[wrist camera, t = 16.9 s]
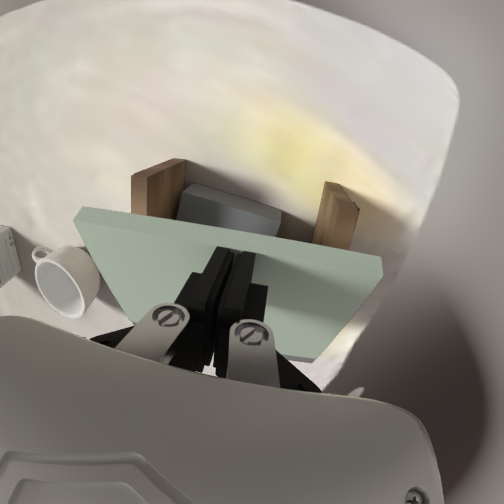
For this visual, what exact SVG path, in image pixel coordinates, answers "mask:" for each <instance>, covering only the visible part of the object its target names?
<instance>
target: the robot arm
mask: <svg viewBox="0 0 504 504" xmlns="http://www.w3.org/2000/svg"><path fill="white" fill-rule="evenodd" d="M229 250H230V249H229V248H224V247H218V246H217V247H216V249H215V250H214V252H213V254H212V256H211V258H210V260H209V261H208V263H207V265H206V267H205V269H204V271H203V273H197V272H192V273H191V275H190V276H189V278H188V280H187V281H186V283H185V285H184V286H183V288H182V290H181V292H180V293H179V295H178V297H177V298H176V300H175V302H174V303H163V304H159V305H156V306H154V307H153V308H152V309H150V310H149V311H148V313H147V314H146V315H145V316H144V317H143V318H142V319H141V320H140V321H139V322H138V323H137V324H136V325H135V326H132V327H128V328H125V329H121V330H118V331H114V332H110V333H107V334H103V335H99V336H96V337H93V338H91V339H90V340H88V339H86V337H80V336H78V335H75V334H73V333H70V332H68V331H65V330H63V329H60V328H57V327H55V326H52V325H49V324H47V323H44V322H42V321H38V320H35V319H32V318H27V317H22V316H1V317H0V504H444V499H443V491H442V484H441V478H440V474H439V469H438V465H437V460H436V457H435V453H434V450H433V446H432V444H431V441H430V438H429V436H428V433H427V431H426V430H425V428H424V426H423V425H422V423H421V422H420V421H419V419H418V418H416V417H415V416H414V415H413V414H411V413H410V412H408V411H406V410H404V409H402V408H399V407H397V406H394V405H391V404H388V403H385V402H380V401H376V400H372V399H366V398H360V397H352V396H342V395H338V394H334V393H330V394H323V393H322V391H321V390H320V389H319V388H318V387H317V386H316V385H315V384H314V383H313V382H312V381H311V380H310V379H308V378H307V377H306V376H305V375H304V374H303V373H302V372H300V371H299V370H298V369H297V368H296V367H295V366H294V365H292V364H291V363H290V362H289V361H288V360H287V359H286V358H285V357H284V356H282V355H281V354H280V353H279V352H278V351H277V350H276V349H275V341H274V334H273V332H272V330H271V328H270V327H269V326H268V325H266V324H265V323H263V322H264V315H265V308H266V301H267V293H268V286H267V285H261V284H255V283H251V282H252V275H253V269H254V263H255V256H256V253H252V252H246V251H243V253H242V254H237V256H236V259H235V262H234V264H233V259H234V253H233V252H229ZM213 353H214V362H213V367H215V368H216V373H215V374H216V375H217V377H216V376H211V375H206V374H202V372H203V369H204V365H206V366H209V365H210V363H211V360H212V356H213ZM195 371H197V372H195ZM198 372H201V373H198Z"/></svg>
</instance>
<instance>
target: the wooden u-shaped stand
mask: <svg viewBox="0 0 504 504" xmlns="http://www.w3.org/2000/svg"><path fill="white" fill-rule="evenodd" d="M185 166H186V160H185V159H175V158H173V159H170V160H168V161H165V162H163V163H160V164H158V165H155V166H153V167H150V168H148V169H146V170H142V171H140V172H137V173H135V174H134V175H132V176H131V213H132V214H138V215H145V216H151V217H158V218H164V219H170V220H176V219H177V214H178V209H179V204H180V199H181V195H182V191H184V179H185ZM359 210H360V209H359V208H358V206H357V205H356V204H355V202H352V201H351V200H350V198H349V197H348V196H347V194H346V193H345V192H344V190H343V189H342V187H341V186H340V185H339V184H337V183H332V182H327V181H325V185H324V189H323V194H322V199H321V203H320V208H319V212H318V217H317V221H316V225H315V230H314V234H313V238H312V242H311V244H316V245H322V246H327V247H333V248H338V249H343V250H348V248H349V245H350V241H351V238H352V234H353V232H354V228H355V225H356V221H357V218H358V214H359Z"/></svg>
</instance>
